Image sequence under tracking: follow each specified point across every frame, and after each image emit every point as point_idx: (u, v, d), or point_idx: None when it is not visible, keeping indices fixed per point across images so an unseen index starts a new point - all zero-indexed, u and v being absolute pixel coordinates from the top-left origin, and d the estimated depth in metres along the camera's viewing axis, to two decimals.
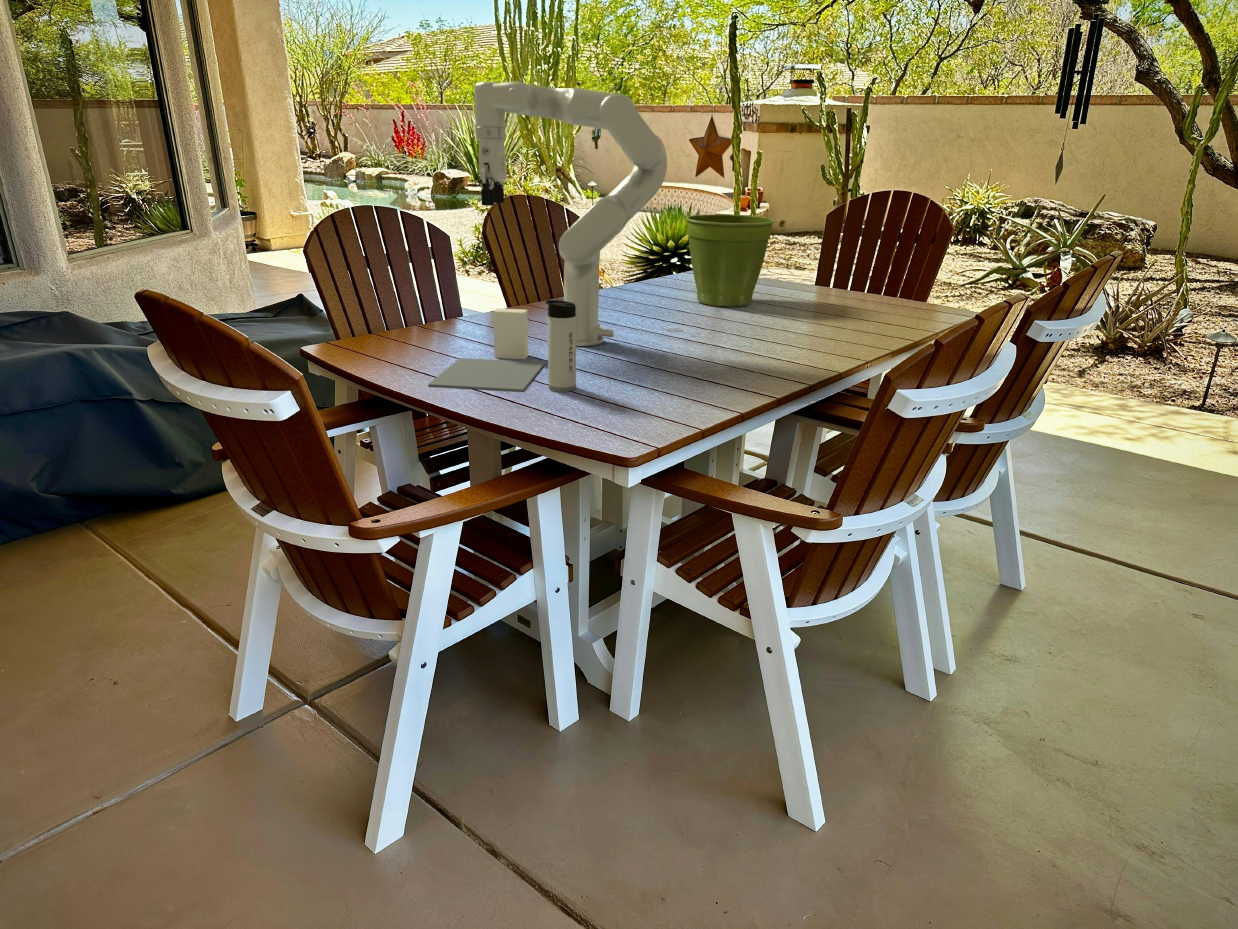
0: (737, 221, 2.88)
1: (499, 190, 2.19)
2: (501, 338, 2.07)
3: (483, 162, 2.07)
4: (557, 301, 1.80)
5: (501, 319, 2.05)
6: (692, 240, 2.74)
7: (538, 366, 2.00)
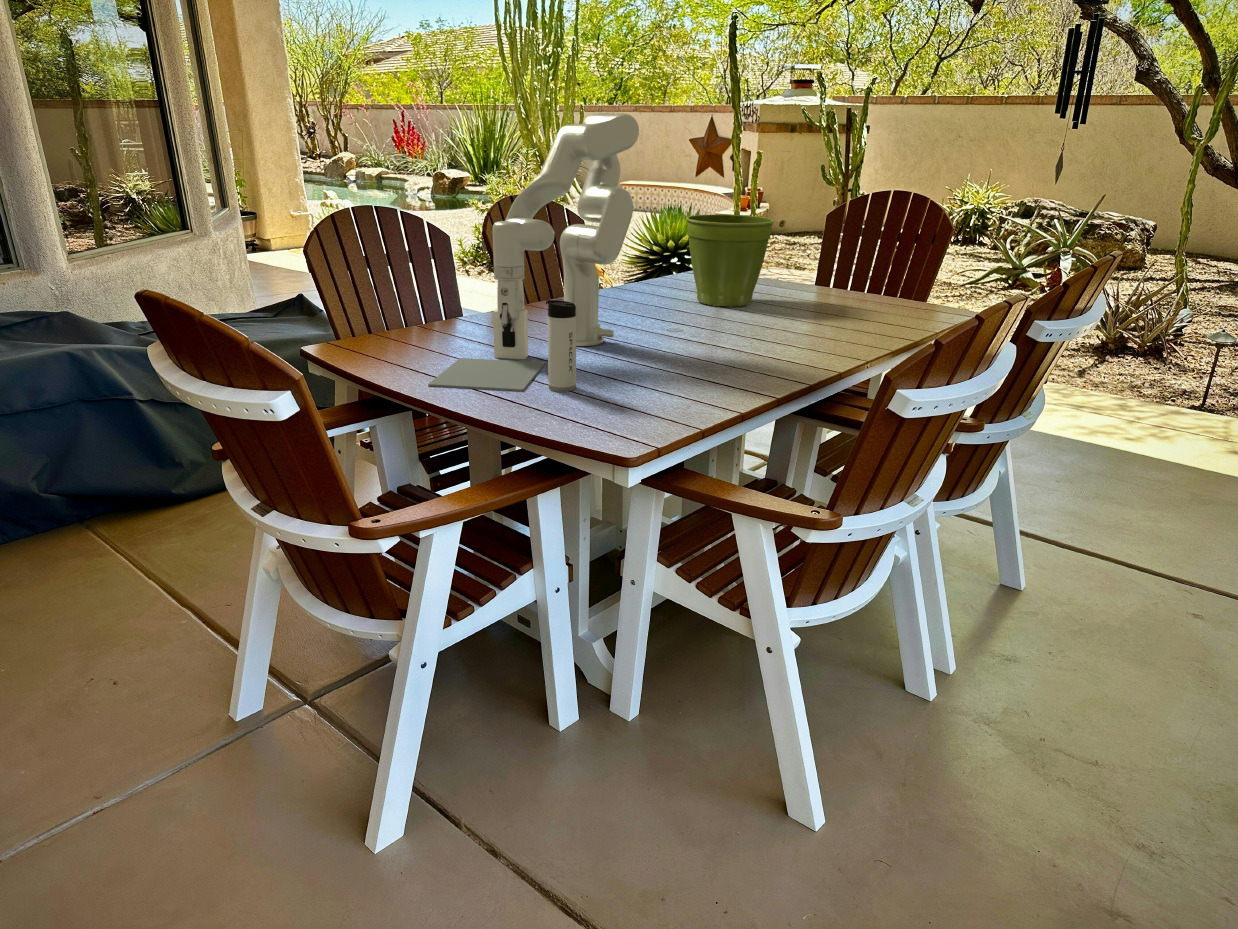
0: (737, 221, 2.88)
1: None
2: (500, 338, 2.07)
3: (502, 305, 2.01)
4: (557, 301, 1.80)
5: None
6: (692, 240, 2.74)
7: (538, 366, 2.00)
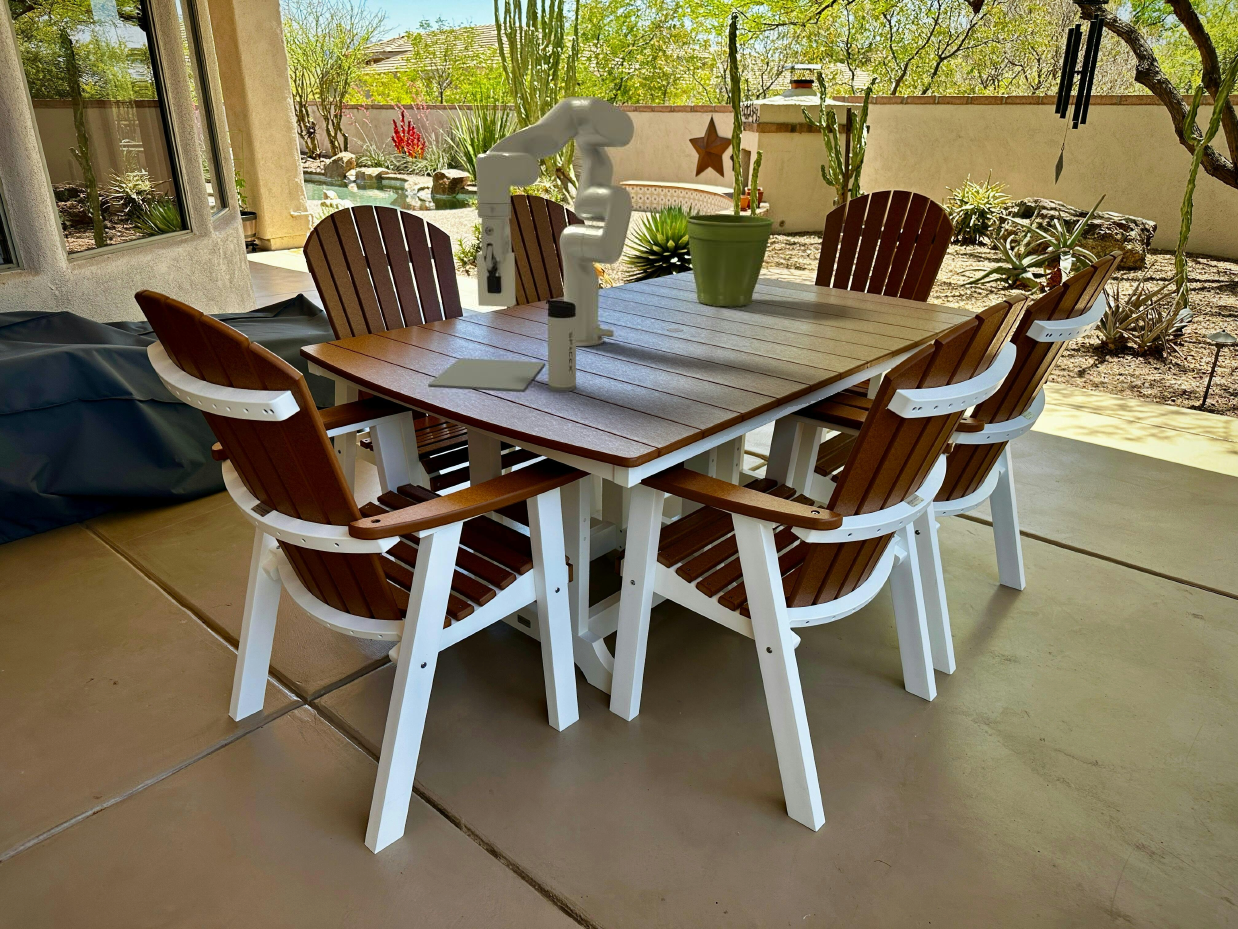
0: (737, 221, 2.88)
1: None
2: (485, 283, 1.90)
3: (486, 246, 1.84)
4: (557, 301, 1.80)
5: None
6: (692, 240, 2.74)
7: (538, 366, 2.00)
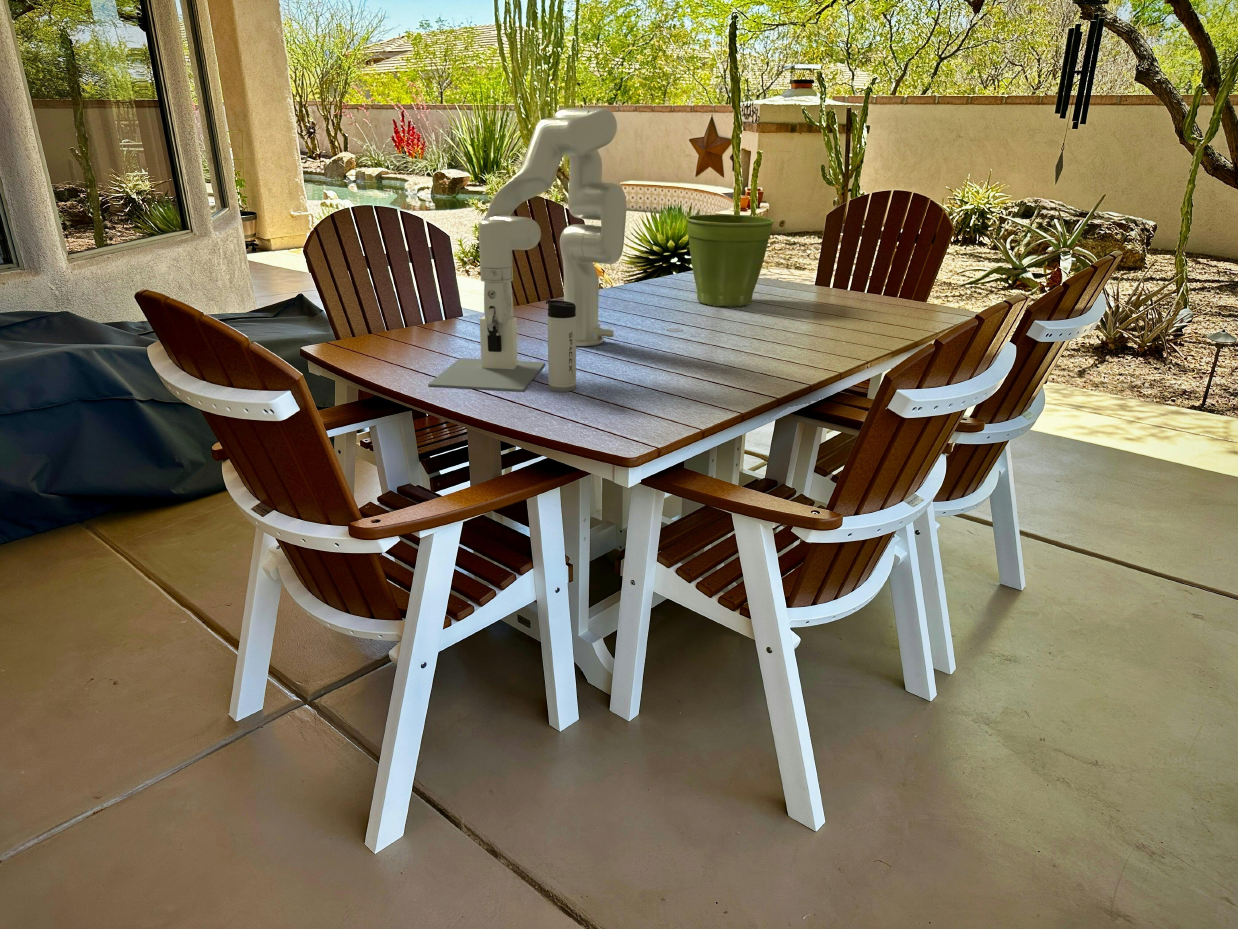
0: (737, 221, 2.88)
1: None
2: None
3: (489, 307, 1.89)
4: (557, 301, 1.80)
5: None
6: (692, 240, 2.74)
7: (538, 366, 2.00)
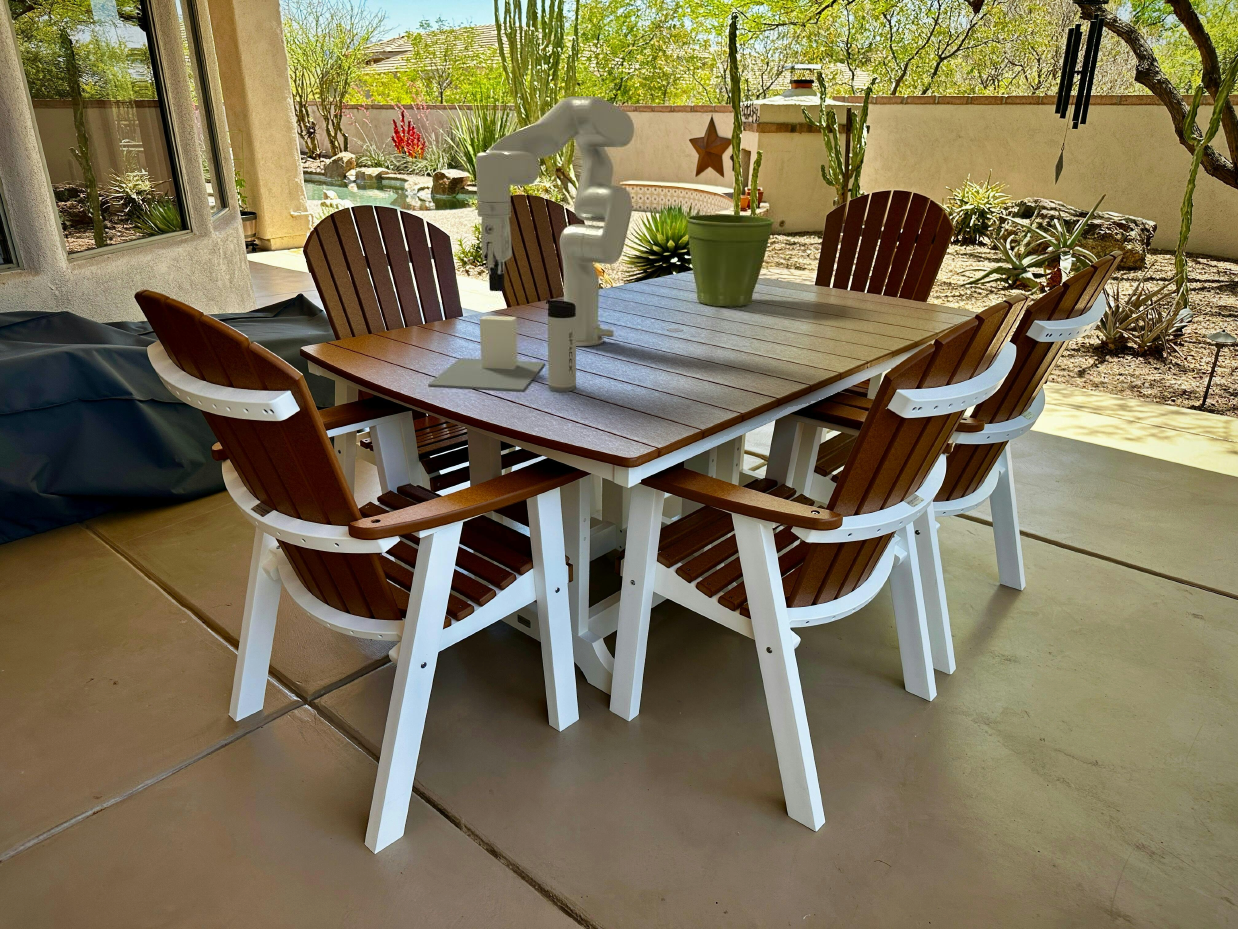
0: (737, 221, 2.88)
1: None
2: (488, 347, 1.96)
3: (487, 246, 1.84)
4: (557, 301, 1.80)
5: (488, 327, 1.94)
6: (692, 240, 2.74)
7: (538, 366, 2.00)
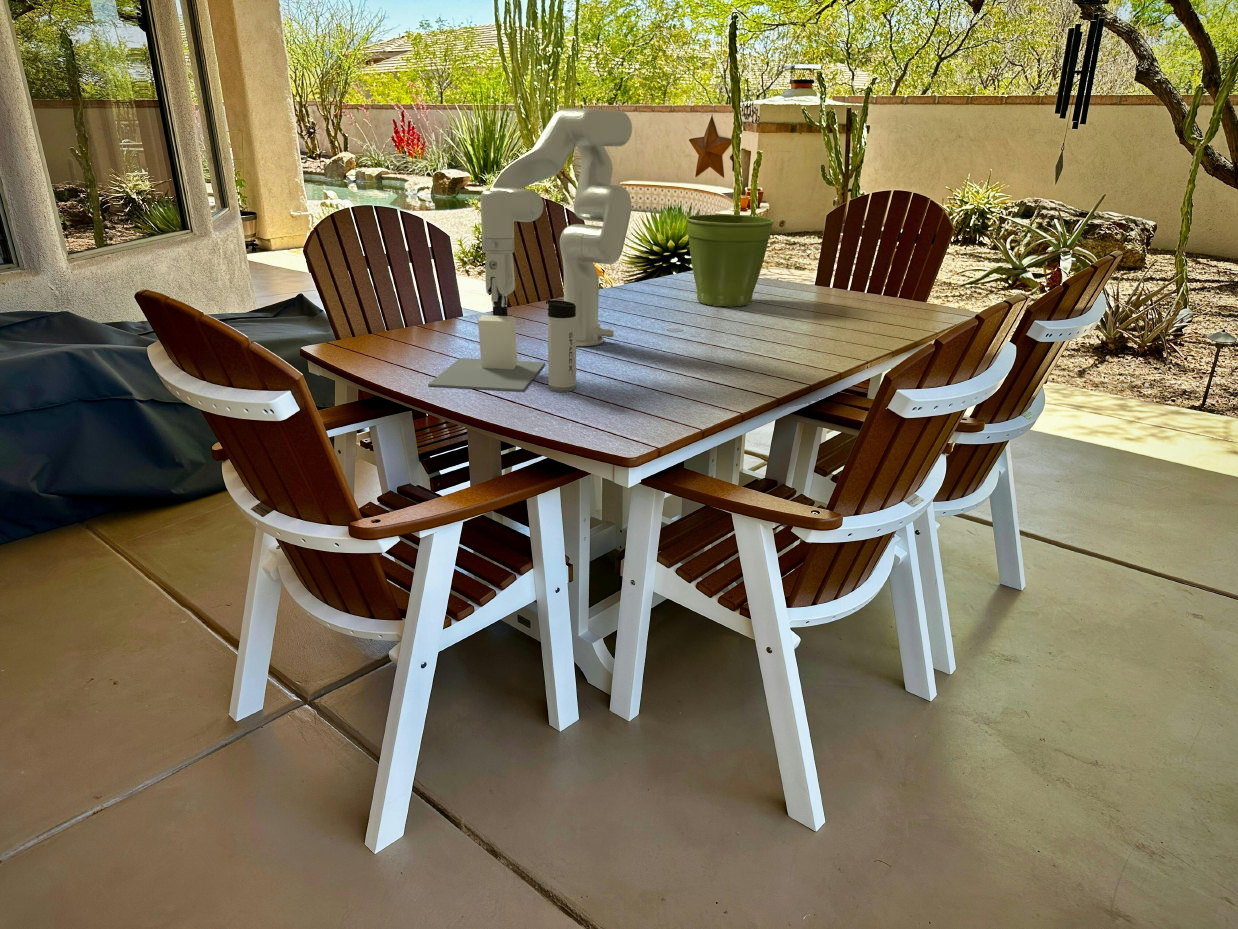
0: (737, 221, 2.88)
1: None
2: (487, 347, 1.95)
3: (490, 281, 1.90)
4: (557, 301, 1.80)
5: (487, 328, 1.93)
6: (692, 240, 2.74)
7: (538, 366, 2.00)
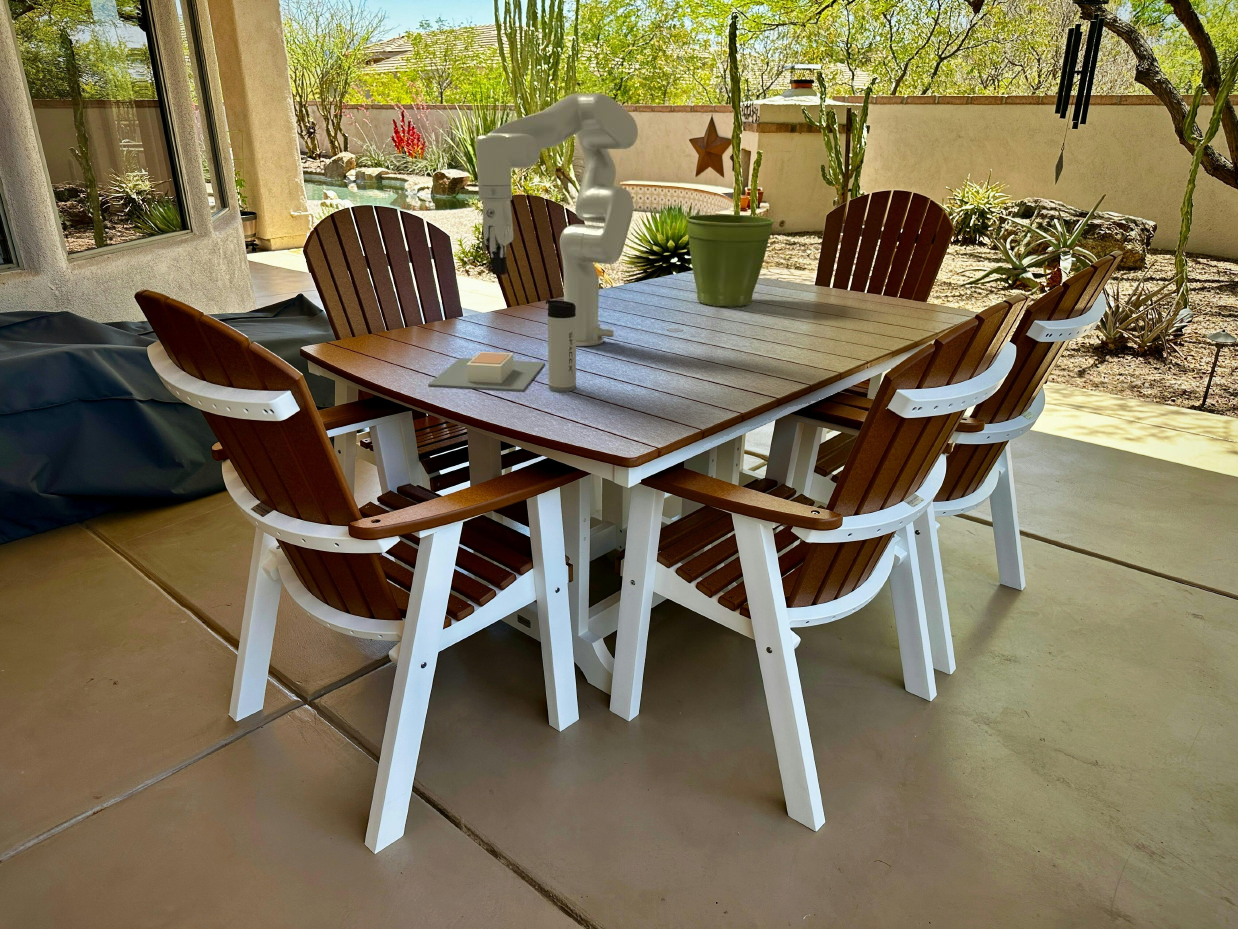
0: (737, 221, 2.88)
1: None
2: None
3: (488, 230, 1.84)
4: (557, 301, 1.80)
5: None
6: (692, 240, 2.74)
7: (538, 366, 2.00)
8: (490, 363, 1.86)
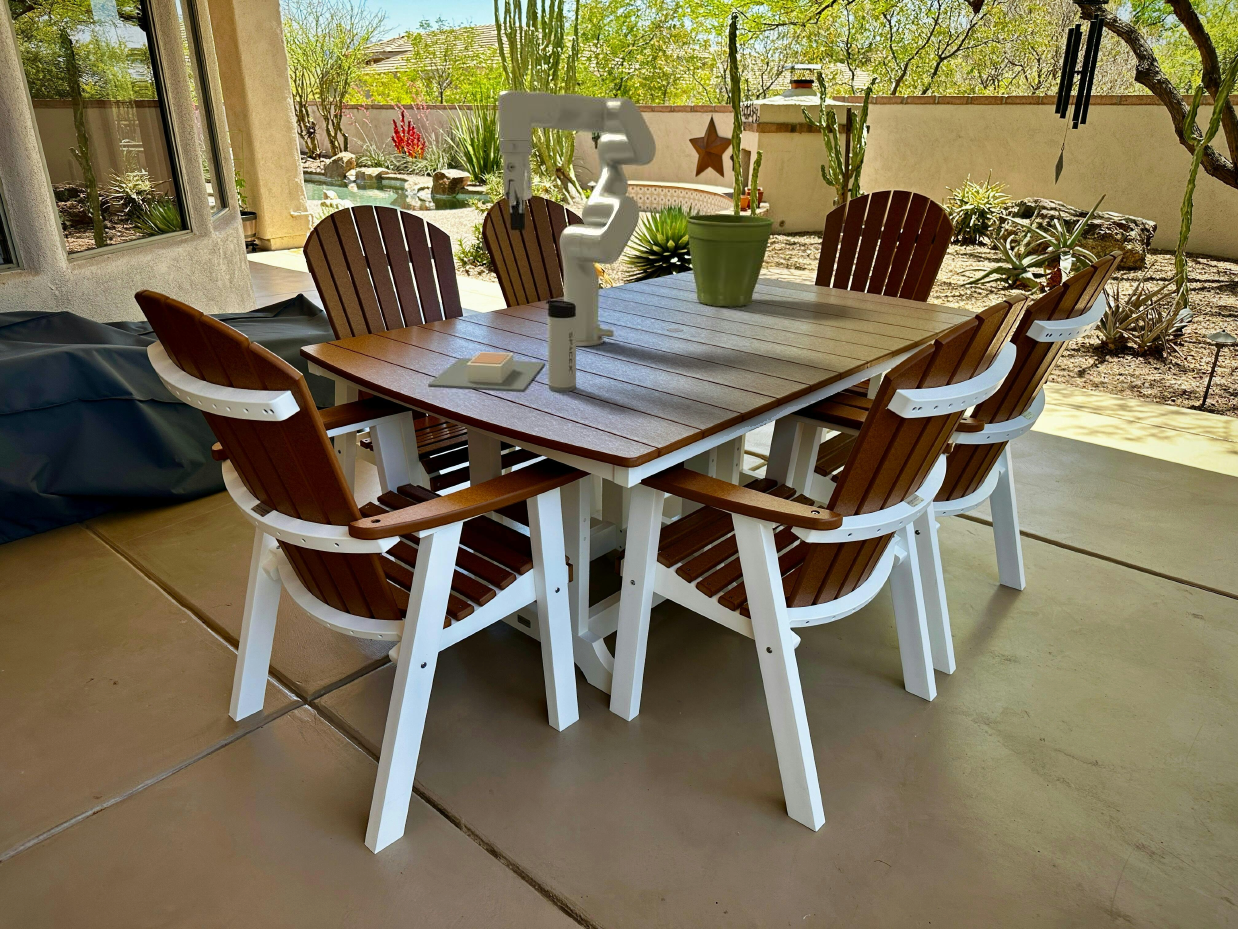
0: (737, 221, 2.88)
1: None
2: None
3: (508, 184, 1.88)
4: (557, 301, 1.80)
5: None
6: (692, 240, 2.74)
7: (538, 366, 2.00)
8: (490, 363, 1.86)
